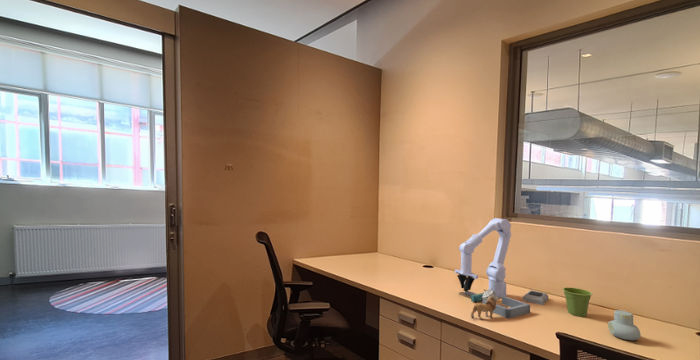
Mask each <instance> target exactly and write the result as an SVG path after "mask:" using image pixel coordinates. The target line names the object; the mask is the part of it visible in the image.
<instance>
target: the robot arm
mask: <svg viewBox="0 0 700 360" xmlns="http://www.w3.org/2000/svg"><path fill="white" fill-rule="evenodd" d="M511 227H512V224H511V222H510V221H509V220H508V219H506V218H497V217H494V218H492V219H491V220H490V221H489V222H488V224H486V226H485V227H483V228H482V229H481V231H479V232H478V233H475V234H472V235H470V236H471V237H469V238H468V239H467V240H465V242H463V243H461V244H460V245H459V247H458V249H459V252H460V269H454V274H457V276H456V277H457V278H458V281H459V283H460V287H461V289H464V281H466V284H467V290H468V291H471V288H472V286H473V284H474V282H475V280H478V279H479V276H478V274H475V273H473V272H472V268H473V267H472V264H473V263H472V256H473V255H472V254H473V253H474V252H475V249H476V248H477V247H478V246H479V245H481V243H482V242H483V239H484V238H485V237H487V236H488V235H490V233H492V232H494V231H496V232H497V234H498V235H499V237H498V241H497V242H498V243H497V246H496V250H495V252H494V257H493V260H492V261H491V262H490V263H489V265H488V266H487V268H486V270H485V274H486V275H487V278H488V290H491V289H492V290H493V291H495V293H496V294H497V295H498V296H500V297H498V299H499V298H501V299H502V296H505V297H508V296H509V295H508V294H507V284H506V283H507V282H506V281H505V279H506V267H505V265H504V263H505V260H506V256H507V253H508V248H509V245H510V244H509V243H510V241H511V237H512V233H511Z"/></svg>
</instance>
